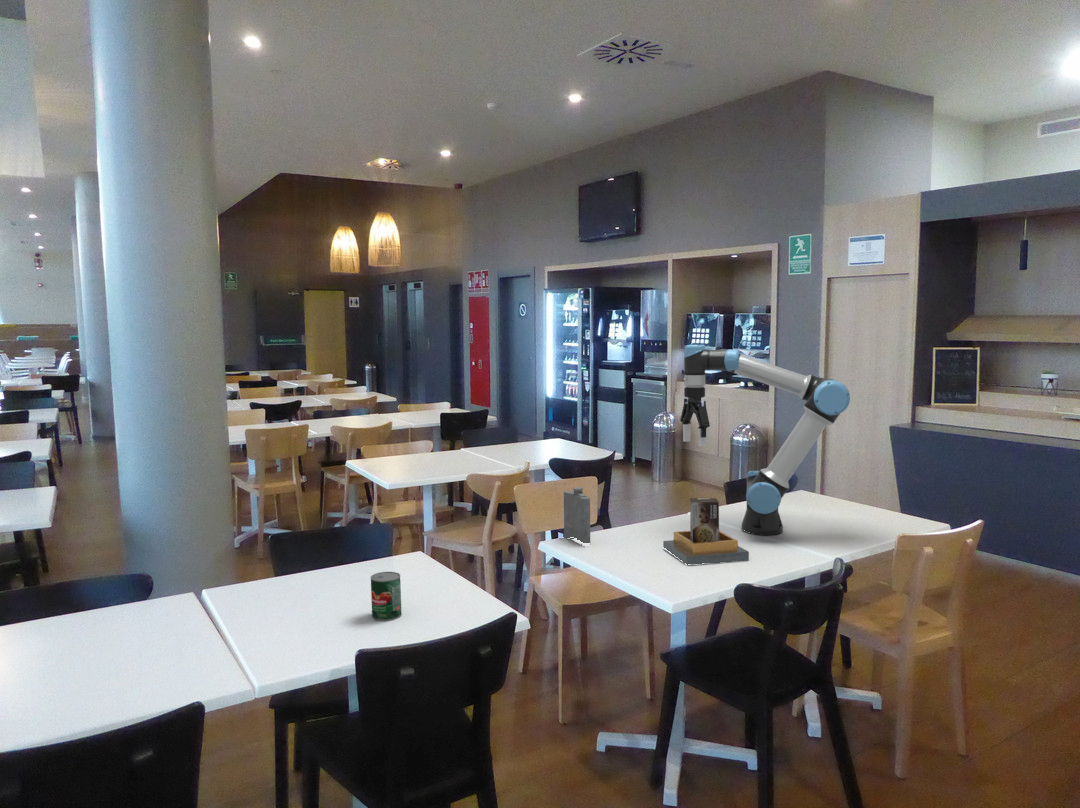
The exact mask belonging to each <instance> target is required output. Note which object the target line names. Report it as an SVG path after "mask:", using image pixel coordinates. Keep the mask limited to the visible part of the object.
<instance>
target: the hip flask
mask: <svg viewBox="0 0 1080 808" xmlns="http://www.w3.org/2000/svg"><path fill="white" fill-rule="evenodd" d="M572 490H573V491H572ZM572 490H565V491H563V538H564V539H565V538H570V537H574V538H577V540H580V541H581V542H583V543H590V544H591V497H590V496H588V495H586V494H584V492H583V491H584V487H581V486H579V487H577V486H576V487H573V488H572ZM574 538H570V539H574Z"/></svg>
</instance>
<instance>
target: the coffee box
mask: <svg viewBox="0 0 1080 808" xmlns="http://www.w3.org/2000/svg"><path fill="white" fill-rule="evenodd" d="M689 502H690V504H689V506H690V508H689V509H690V510H689V512H690V515H689V516H690V517H689V518H690V520H689V521H690V522H689V523H690V524H689V525H690V530H689V531H690V533H691V539H690V540H691V541H692V542H694V543H701V542H713V541H719V531H720V501H719V500H718V499H717V498H716V497H690V498H689Z"/></svg>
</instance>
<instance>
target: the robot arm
mask: <svg viewBox="0 0 1080 808" xmlns="http://www.w3.org/2000/svg"><path fill="white" fill-rule="evenodd" d="M683 358H684V359H683V360H684V361H683V363H684V364H683V367H684V368H683V371H684V374H683V375H684V378H683V381H684V386H685V387H684V390H683V391H684V392H683V393H684V394H683V395H684V398H683V405H682V406H683V407H682V411H681V415H680V420H679V421H680V422H681V424H682V432H683V433H682V435H683V436H682V441H683V442H684V443H685V442H691V435H692V432H691V431H692V430H691V429H692V428H691V426H692V425H691V424H692V422H691V420H692V417H693V415H695V417H696V420H697V424H698V427H697V429H698V447H707V429H708V428H710V420H709V415H708V409H707V401H706V400H702V398H705V397H706V387H705V386H706V371H727V372H729V373H732V374H736V375H739V376H742V377H744V378H748V379H749V380H750V379H751V380H754V381H756V382H759V383H761V384H764V385H768V386H770V387H773V388H776V389H779V390H781V391H785V392H788V393H791V394H794V395H797V396H799V398H800V399H801V400H803V401H806V402H805V403H804V405H803V410H804V413H803V414H802V416H801V417H800V419H799V420H798V421H797V423H796V424H795V426H794V427H793V429H792V431H791V432H790V434H789V435H788V437H787V438H786V440H785V441H784V442H783V444H782V445H781V447H780V448H779V450H778V451H777V453H776V454H775V456H774V457H773V458H772V460H771V461H770V463H769V464H768V466H767V467H766V468H765V467H764V468H762V469H760V470H749V471H748V472H746V477H745V478H746V494H745V499H746V510H745V514H744V516H743V520H742V522H741V530H742V529H743V530H745V531H747V532H750V533H749V534H751V533H754V534H753V535H757V534H762V535H761V536H774V534H776V535H780V534H782V533H783V532H784V527H783V526H784V525H783V522H782V520H781V516H780V513H779V507H780V504H781V502H782V499H783V497H784V496H785V495H786V493H787V491H789V489H790V484H789V480H791V478H792V477H793V475H794V473H795V472H796V471H797V469H798V467H799V466H800V464H801V463H802V462H803V460H804V459H805V457H806V456H807V454H808V453H809V452H810V450H811V449H812V447H813V446H814V444H815V443H816V441H817V440H818V438H819V437H820V436H821V434H822V433H823V431H824V430H825V428H826V427H827V426H829V425H830V426H831V425H834V423H835V422H836V421H837V419H838V417H839V416H840V415H841V414H842V413H843V412H844V411H846V410H847V409H848V407H849V405H850V401H851V394H850V390H849V389H848V387H847V386H846V385H845V384H843V382H841V381H838V380H835V379H833V378H826V377H821V376H816V375H813V374H809V375H804V374H801V373H799V372H796V371H792V370H789V369H786V368H782V367H780V366H777V365H774V364H771V363H768V362H765V361H763V360H759V359H756V358H752V357H750V356H747V355H745V354H741V353H740V352H739V350H738V349H731V348H730V349H727V348H721V349H707V348H706V345H705V344H687V345H686V346H685V347H684V356H683ZM743 530H742V531H743ZM747 532H746V533H747ZM779 533H780V534H779Z"/></svg>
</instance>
